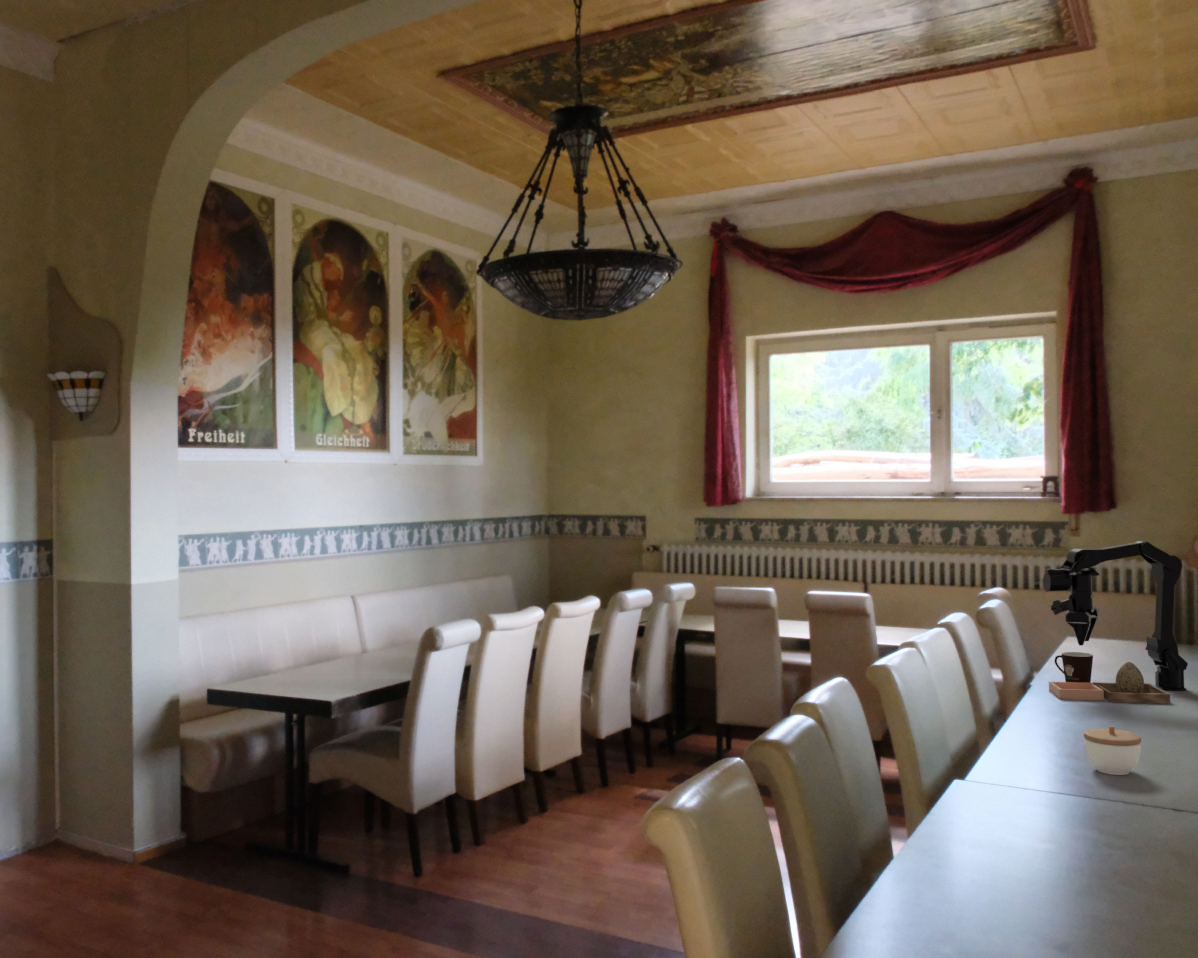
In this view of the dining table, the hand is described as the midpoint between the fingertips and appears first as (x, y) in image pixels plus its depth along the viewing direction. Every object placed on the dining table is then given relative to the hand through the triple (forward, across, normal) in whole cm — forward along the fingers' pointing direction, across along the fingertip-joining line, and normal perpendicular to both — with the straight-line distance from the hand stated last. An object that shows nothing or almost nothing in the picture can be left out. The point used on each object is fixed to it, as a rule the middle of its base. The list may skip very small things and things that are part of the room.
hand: (1083, 643), depth 290 cm
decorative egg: (+14, +6, +12) cm, 20 cm away
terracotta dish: (+14, +12, -1) cm, 18 cm away
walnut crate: (+14, +6, +12) cm, 20 cm away
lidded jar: (+13, +90, +20) cm, 93 cm away
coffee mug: (+14, -2, -3) cm, 14 cm away
